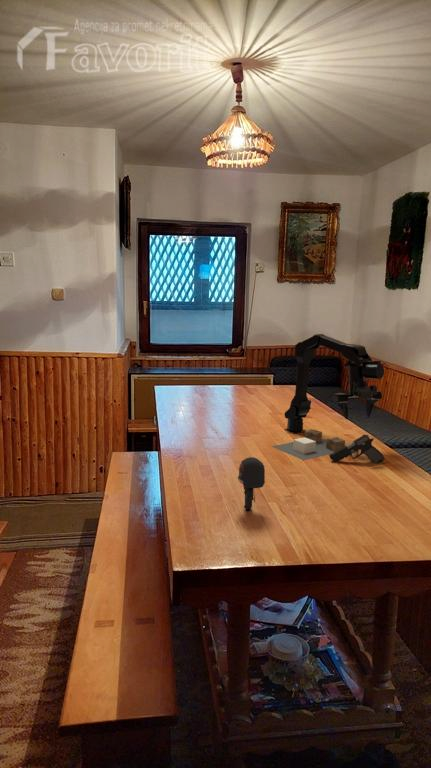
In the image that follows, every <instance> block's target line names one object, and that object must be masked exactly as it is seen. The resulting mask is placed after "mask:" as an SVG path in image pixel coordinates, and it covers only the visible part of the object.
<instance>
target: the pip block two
mask: <svg viewBox="0 0 431 768" xmlns="http://www.w3.org/2000/svg"><path fill="white" fill-rule="evenodd" d="M326 440H327V442H326V448H327V449H329V450H331V451H333V452H336V451H337V450H339V449H341V448H342V447H344V446H346V439H342V438H341V437H337V436H334V437H326Z"/></svg>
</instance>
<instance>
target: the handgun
mask: <svg viewBox="0 0 431 768" xmlns="http://www.w3.org/2000/svg"><path fill="white" fill-rule="evenodd" d="M373 441H374V437H373V438H370V436H369V434H363V435H362V436H360V437H358V438H356V439H355V440H353V441H352V442H350V443H348V444H347V445H345V446H344V447H342V448H341V449H339V450H337V451H336V452H334V453H332V454H329V455H328V456H329V458H330V460H331V461H333V462H334V463H339V462H341V461H343V460H344V459H345V458H348V457H349V456H350V457H351V458H352V460H355V459H357V458H358V457H359V458H360V457H361V455H365V456H366V457H367V458H368V459H369V460H370V461H371V463H373V464H380V463H382V462H383V461H384V460H385V456H384V454H383V453H381V451H380V450H379V449H377V448H376V447H375V446H374V445H373ZM359 451H360V452H359ZM355 453H356V454H355ZM353 454H355V456H353Z"/></svg>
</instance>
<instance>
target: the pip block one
mask: <svg viewBox="0 0 431 768" xmlns="http://www.w3.org/2000/svg"><path fill="white" fill-rule="evenodd" d="M304 431H305V432H304V437H305V438H308V439H311V440H313V441H316V443H318V442H321V441H322V439H323V431H320V430H316V429H313V428H312V429H307V430H304Z"/></svg>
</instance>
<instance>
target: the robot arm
mask: <svg viewBox="0 0 431 768" xmlns="http://www.w3.org/2000/svg"><path fill="white" fill-rule="evenodd" d="M320 347H324V348H326V349H330V350H332V351H334V352H337V353H339V354H341V356H342V357H343V358H345V359H346V360H347V361H346V362H345V363H344V364H343V367H348V380H347V384H348V385H349V386H348V387H349V388H348V389H349V390H348V391H347V393H343V392H337V393H336V392H335V393H333V394H332V396H331V401H332V402H334V403H335V404H337V405H338V406H339V408H340V410H341V412H342V414H343V416H344V418H345V419H346V420H349V409H348V408H349V407H348V406H349V401H348V400H354V399H361V400H364V401H365V413H366V418H370V417H371V414H372V411H373V408H374V405H375V404H376V403H377V402H379V401H380V400H382V399H383V393H382V391H380V390H378V386H377V385H375V384H374V385H370V386H369V385H368V383H367V380H365V379H370V380H381V379H382V378H383V377H384V375H385V368H384V365H383V364H382V360H373V359H372V358H371V357H370V355H369V353H368V352H367V349H366V347H365V345H363V344H354V343H346V342H343V341H340V340H338V339H335V338H333V337H331V336H330V337H329V336H327V335H325V334H323V333H318V334H317V333H316V334H314V335H312V336H310V337H309V338H307V339H304V340H302V341H298V342H297V343H296V344H295V345H294V357H295V358H296V362H297V369H296V381H295V392H294V393H295V394H294V396H293V398H292V399H291V401H290V405H289V408H288V409H287V410H286V411H284V413H283V414H284V418H285V419H287V424H286V425H287V426H286V427H287V428H285V429H284V431H287V432H289V433H291V434H298V433H305V431H306V430H305V429H304V418H306V417H307V415H308V413H309V412H310V410H312V408H311V404H312V400H311V399H310V400H309V398H308V395H307V394H308V383H309V374H310V373H309V372H310V364H311V361H312V360H313V358H314V356H315V352H316V350H318V349H319V348H320Z"/></svg>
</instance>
